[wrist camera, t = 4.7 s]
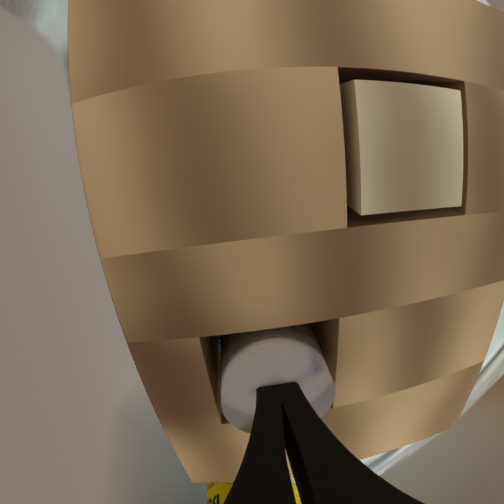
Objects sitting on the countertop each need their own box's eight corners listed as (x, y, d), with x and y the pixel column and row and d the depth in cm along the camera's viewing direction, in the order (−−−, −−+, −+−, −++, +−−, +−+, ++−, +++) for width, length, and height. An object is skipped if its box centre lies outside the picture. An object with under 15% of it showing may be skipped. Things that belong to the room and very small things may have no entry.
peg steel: (305, 283, 14) (338, 351, 10) (307, 353, 16) (331, 426, 11) (214, 295, 14) (211, 369, 10) (227, 364, 15) (230, 441, 11)
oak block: (445, 32, 11) (509, 15, 7) (422, 377, 20) (454, 426, 15) (116, 36, 11) (68, 0, 6) (195, 420, 19) (192, 482, 14)
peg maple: (394, 96, 12) (460, 90, 8) (398, 180, 14) (461, 206, 9) (311, 94, 12) (354, 79, 8) (318, 186, 14) (361, 215, 9)
